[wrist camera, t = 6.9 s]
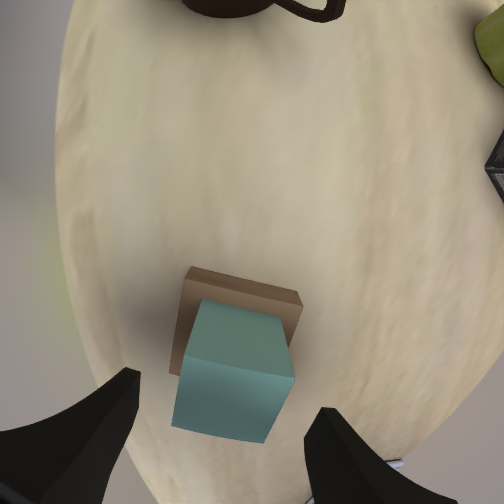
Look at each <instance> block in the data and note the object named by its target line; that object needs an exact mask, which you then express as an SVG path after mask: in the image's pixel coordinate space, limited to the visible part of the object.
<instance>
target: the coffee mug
mask: <svg viewBox="0 0 504 504" xmlns="http://www.w3.org/2000/svg"><path fill="white" fill-rule="evenodd" d="M182 2H183V3H184V4H185V5H186V6H187V7H188V8H190V9H191V10H193V11H195V12H197V13H200V14H202V15H205V16H210V17H216V18H237V17H243V16H248V15H251V14H255V13H258V12H260V11H262V10H264V9H266V8H268V7H269V6H270V5H272V4H273V3H276V4H277V5H279V6H281V7H283V8H284V9H286V10H288V11H290V12H291V13H293V14H295V15H297V16H299V17H302V18H304V19H307V20H310V21H313V22H320V23H325V22H329V21H332V20H335V19H338V18H339V17H340V16H342V14H343V12H344V7H345V3H346V0H327V4H326V7H325V8H324V10H319V9H312V8H308V7H306V6H304V5H302V4H300V3H298V2H296V1H294V0H182Z"/></svg>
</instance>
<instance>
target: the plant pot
mask: <svg viewBox="0 0 504 504" xmlns="http://www.w3.org/2000/svg"><path fill="white" fill-rule="evenodd" d="M475 41H476V45H477V48H478V51H479V53H480V56H481V58H482V59H483V61H484V62H486V64H487V65H488V66H489V68H490V69H491V71H492V75H493V77H494V78H495V79H496V80H497V81H498V82H499V83H500V84H501V85H502V86H503V87H504V4H503V5H502V6H500V7H499V8H498V9H497V10H495V11H494V12H493V13H491V14H490V15H489V16H488V17H486V18H485V19H484V20H482V21H481V22H480V23H479V24H478V25H477V26H476V28H475Z"/></svg>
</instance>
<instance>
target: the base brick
mask: <svg viewBox="0 0 504 504" xmlns="http://www.w3.org/2000/svg"><path fill="white" fill-rule="evenodd" d="M202 298H203V299H207V300H211V301H215V302H219V303H222V304H226V305H231V306H235V307H239V308H243V309H247V310H251V311H256V312H260V313H264V314H269V315H273V316H278V317H280V318H281V322H282V326H283V330H284V334H285V338H286V342H287V346H288V347H289V344H290V342H291V339H292V336H293V334H294V331H295V328H296V325H297V323H298V320H299V317H300V314H301V311H302V308H303V304H302V302H301V300H300V298H299V295H298V293H297V291H292V290H288V289H283V288H279V287H275V286H270V285H266V284H262V283H258V282H253V281H249V280H245V279H241V278H237V277H232V276H228V275H224V274H220V273H216V272H212V271H208V270H204V269H200V268H196V267H191V269H190V270H189V272H188V274H187V276H186V277H185V280H184V286H183V291H182V296H181V302H180V307H179V313H178V319H177V324H176V330H175V336H174V343H173V349H172V355H171V362H170V369H169V373H171V374H175V375H178V376H180V374H181V368H182V363H183V358H184V354H185V351H186V347H187V344H188V341H189V338H190V335H191V332H192V329H193V326H194V322H195V319H196V316H197V313H198V310H199V307H200V304H201V301H202Z"/></svg>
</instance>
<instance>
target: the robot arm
mask: <svg viewBox="0 0 504 504" xmlns="http://www.w3.org/2000/svg"><path fill="white" fill-rule="evenodd" d="M140 376H141V372H140V371H136V370H133V369H130V368H127V367H125V368H123V369H122V370H121V371H120V372H119V373H117V374H116V375H115V376H114V377H113V378H111V379H110V380H109V381H108V382H106V383H105V384H104V385H103V386H101V387H100V388H98V389H97V390H96V391H94V392H93V393H92V394H90V395H89V396H87V397H86V398H84V399H83V400H81V401H79V402H78V403H76V404H75V405H73V406H71V407H69V408H68V409H66V410H64V411H62V412H60V413H58V414H56V415H54V416H51V417H49V418H46V419H44V420H42V421H39V422H36V423H34V424H30V425H27V426H23V427H19V428H15V429H11V430H6V431H0V504H102V501H103V497H104V493H105V490H106V487H107V484H108V480H109V477H110V474H111V472H112V469H113V467H114V465H115V463H116V461H117V458H118V456H119V454H120V452H121V450H122V448H123V446H124V444H125V442H126V439H127V437H128V435H129V433H130V431H131V429H132V426H133V423H134V420H135V417H136V414H137V411H138V408H139V393H140ZM304 452H305V461H306V466H307V471H308V476H309V481H310V485H311V490H312V495H313V497H312V499H311V500H310V501H309V502H308V503H307V504H458V503H457V501H456V500H454V499H450V498H448V497H445V496H442V495H439V494H436V493H434V492H432V491H430V490H428V489H425V488H423V487H422V486H420V485H418V484H416V483H414V482H413V481H411V480H409V479H408V478H406V477H405V476H403V475H402V474H400V473H399V472H398V470H399V469H400V468H401V467H402V466H403V464H404V461H403V460H399V461H392V462H385V461H384V460H383V459H382V458H380V457H379V456H378V455H377V454H376V453H375V452H374V451H373V450H372V449H371V448H370V447H369V446H368V445H367V444H366V443H365V442H364V441H363V439H362V438H361V437H360V436H359V435H358V434H357V433H356V432H355V430H354V429H353V428H352V427H351V426H350V425H349V424H348V422H347V421H346V420H345V419H344V418H343V417H342V415H341V414H340V413H339V412H338V411H337V410H336V409H335V408H327V407H321V409H320V411H319V413H318V414H317V416H316V418H315V420H314V421H313V423H312V425H311V427H310V428H309V430H308V432H307V434H306V435H305V437H304Z"/></svg>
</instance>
